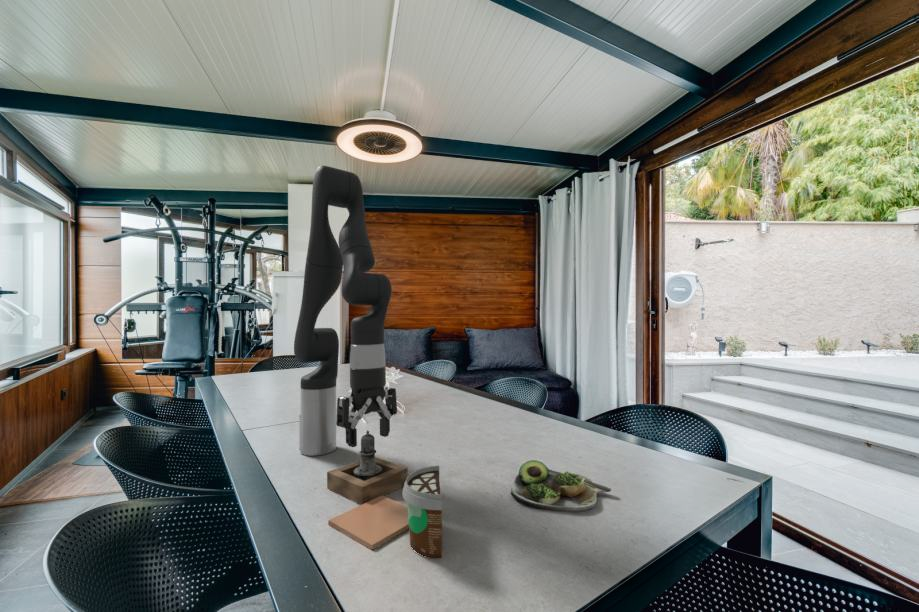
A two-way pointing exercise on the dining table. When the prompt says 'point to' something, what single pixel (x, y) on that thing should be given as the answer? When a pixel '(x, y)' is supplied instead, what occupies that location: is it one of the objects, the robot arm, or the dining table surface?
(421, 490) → the food container
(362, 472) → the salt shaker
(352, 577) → the dining table surface
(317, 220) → the robot arm
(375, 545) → the terracotta tile
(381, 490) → the walnut socket block
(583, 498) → the avocado toast plate
